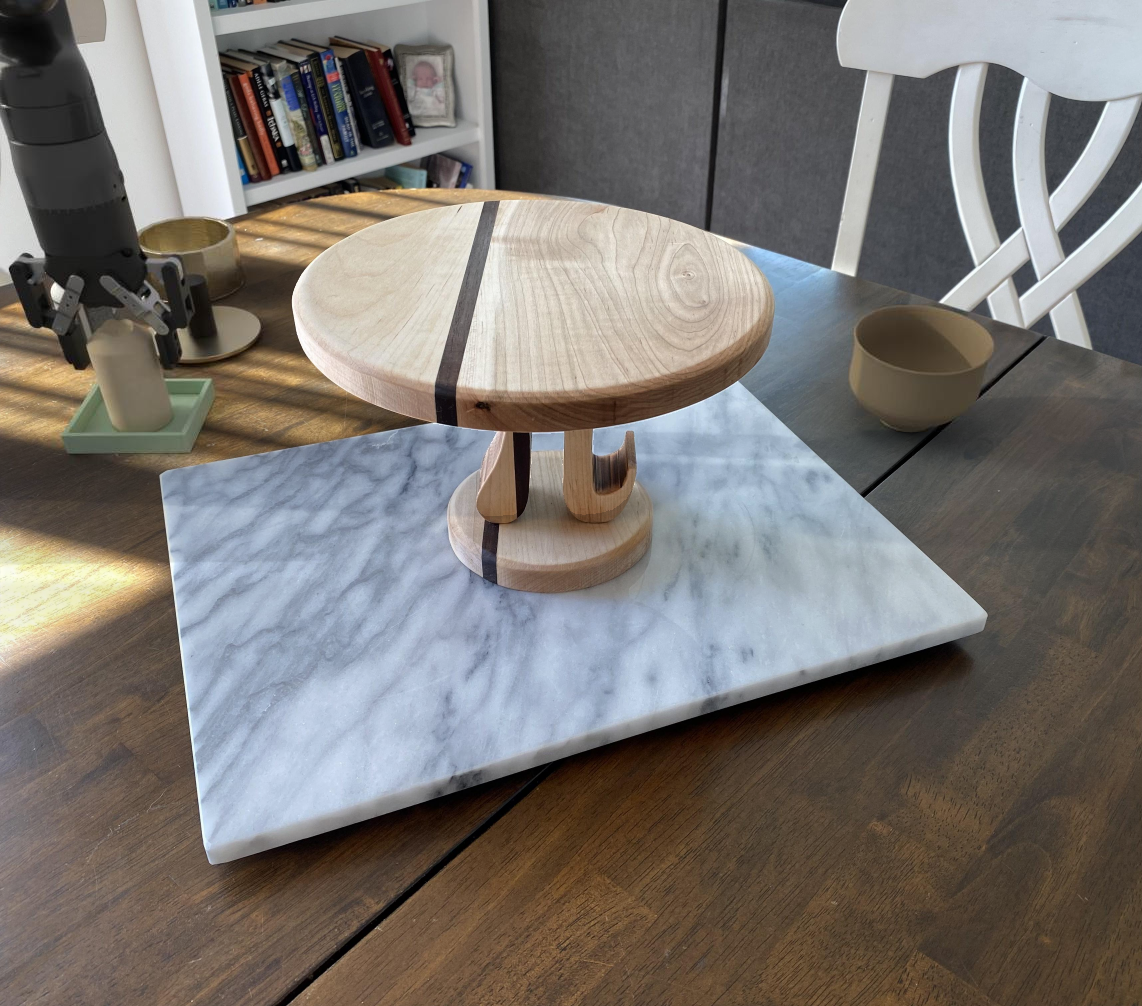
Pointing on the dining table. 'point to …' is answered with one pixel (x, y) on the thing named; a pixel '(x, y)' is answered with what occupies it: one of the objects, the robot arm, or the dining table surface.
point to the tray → (178, 436)
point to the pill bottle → (87, 313)
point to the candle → (130, 377)
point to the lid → (213, 328)
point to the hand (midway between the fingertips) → (128, 365)
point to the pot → (196, 252)
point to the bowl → (918, 365)
